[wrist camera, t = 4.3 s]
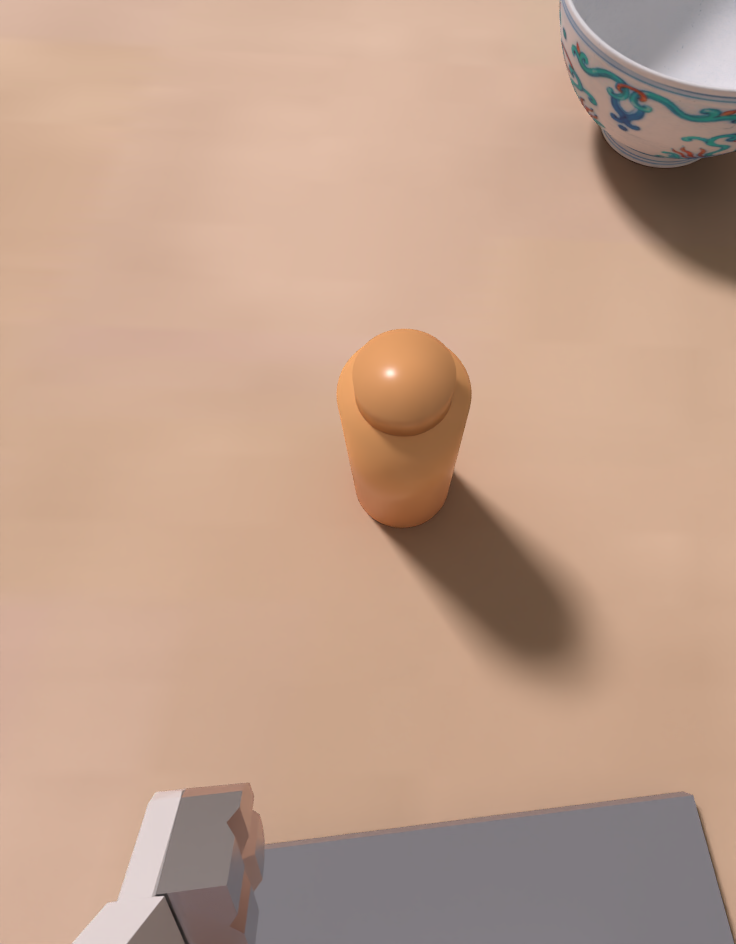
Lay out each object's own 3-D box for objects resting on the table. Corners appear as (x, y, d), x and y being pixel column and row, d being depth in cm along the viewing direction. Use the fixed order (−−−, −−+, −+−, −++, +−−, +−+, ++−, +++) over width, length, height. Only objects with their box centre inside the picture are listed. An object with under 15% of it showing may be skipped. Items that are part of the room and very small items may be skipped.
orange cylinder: (360, 533, 27) (340, 447, 17) (350, 445, 28) (326, 322, 19) (456, 521, 27) (488, 428, 17) (440, 434, 28) (462, 304, 19)
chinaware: (513, 207, 33) (545, 72, 26) (543, 28, 38) (578, -128, 31) (796, 244, 31) (917, 110, 24) (789, 51, 36) (888, -109, 29)
